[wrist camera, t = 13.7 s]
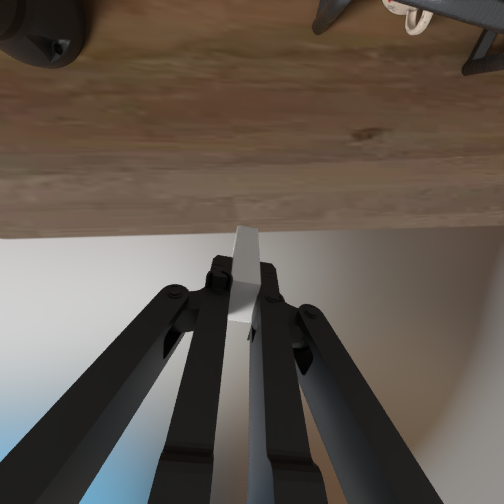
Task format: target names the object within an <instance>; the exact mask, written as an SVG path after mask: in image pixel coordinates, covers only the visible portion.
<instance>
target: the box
mask: <svg viewBox="0 0 504 504" xmlns="http://www.w3.org/2000/svg"><path fill="white" fill-rule="evenodd" d="M351 1H352V0H320V3H319V7H318V11H317V15H316V19H315V20H314V22H313V25H312V30H313V32H314V33H315V34H316V35H320V34H322V33H323V32H324V31H325V30H326V29H327V27H328V26H329V25H330V24H331V23H332V22H333V21H334V20H335V19H336V17H337V16H338V15H339V14H340V13H341V12H342V11H343V10H344V9H345V8H346V6H347V5H348V4H349V3H350V2H351ZM391 1H394V2H398V3H401V4H404V5H408V6H411V7H414V8H418V9H421V10H424V11H428V12H431V13H434V14H438V15H441V16H444V17H447V18H451V19H454V20H457V21H461V22H464V23H467V24H471V25H474V26H477V27H481V28H484V30H483V32H482V34H481V36H480V38H479V39H478V41H477V43H476V45H475V47H474V49H473V51H472V53H471V55H470V57H469V59H468V61H467V62H466V63H465V64H464V65H463V67H462V74H463V75H464V76H468V75H474V74H480V73H486V72H492V71H498V70H504V53H499V54H495V55H491V56H486V57H484V56H485V54H486V52H487V50H488V48H489V47H490V45H491V43H492V41H493V39H494V37H495V35H496V34H497V33H501V34H504V0H391Z"/></svg>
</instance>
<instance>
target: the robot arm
mask: <svg viewBox="0 0 504 504" xmlns="http://www.w3.org/2000/svg"><path fill="white" fill-rule="evenodd" d="M84 36H85V16H84V9H83V5H82V1H81V0H0V50H2V51H3V52H5V53H6V54H8V55H9V56H11V57H13V58H15V59H17V60H19V61H21V62H23V63H26V64H29V65H32V66H37V67H42V68H48V69H54V68H60V67H63V66H66V65H67V64H69V63H70V62H72V61H73V60H74V59H75V58H76V56H77V55H78V53H79V52H80V50H81V47H82V45H83V41H84ZM251 318H252V325H251V328H250V332H249V335H248V339H247V340H249V339H250V371H249V373H250V374H249V378H250V380H249V472H248V496H247V502H246V504H328V501H327V497H326V491H325V485H324V481H323V477H322V474H321V471H320V469H319V467H318V466H317V465H316V464H315V463H314V462H313V460H312V458H311V454H310V448H309V442H308V436H307V430H306V424H305V418H304V413H303V407H302V401H301V395H300V390H299V383H300V386H301V388H302V391H303V393H304V396H305V398H306V401H307V403H308V406H309V408H310V410H311V413H312V415H313V418H314V421H315V423H316V426H317V428H318V431H319V433H320V435H321V438H322V441H323V443H324V445H325V448H326V451H327V453H328V456H329V458H330V460H331V463H332V465H333V468H334V470H335V473H336V475H337V478H338V480H339V483H340V485H341V488H342V490H343V493H344V495H345V498H346V500H347V502H348V504H444V503H443V502H442V500H441V499H440V497H439V496H438V494H437V492H436V491H435V489H434V488H433V486H432V484H431V483H430V481H429V480H428V478H427V477H426V475H425V474H424V472H423V470H422V469H421V467H420V466H419V464H418V462H417V461H416V459H415V458H414V456H413V455H412V453H411V451H410V450H409V448H408V447H407V445H406V443H405V442H404V441H403V439H402V437H401V436H400V434H399V432H398V431H397V430H396V428H395V426H394V425H393V423H392V421H391V420H390V418H389V417H388V415H387V414H386V412H385V410H384V409H383V407H382V406H381V404H380V403H379V401H378V400H377V398H376V396H375V395H374V394H373V392H372V390H371V388H370V387H369V385H368V384H367V382H366V380H365V379H364V377H363V376H362V374H361V373H360V371H359V369H358V368H357V366H356V365H355V363H354V362H353V360H352V359H351V357H350V355H349V354H348V352H347V351H346V349H345V348H344V346H343V344H342V343H341V341H340V340H339V338H338V336H337V335H336V333H335V332H334V330H333V329H332V327H331V325H330V324H329V322H328V321H327V319H326V317H325V316H324V314H323V313H322V312H321V311H320V309H318V308H317V307H315V306H313V305H310V304H303V305H301V306H300V307H299V308H296V307H294V306H291V305H289V304H287V303H286V302H285V300H284V298H283V296H282V295H281V294H280V293H279V286H278V280H277V273H276V268H275V267H274V266H273V265H272V264H271V263H265V262H260V258H259V240H258V229H257V228H251V227H246V226H241V225H238V226H237V231H236V236H235V242H234V247H233V252H232V257H227V256H221V255H217V256H216V257H215V258H213V262H212V266H211V270H210V271H209V272H208V273H207V276H206V283H205V287H204V288H202V289H201V290H197V291H188V289H187V288H186V287H184V286H182V285H178V284H172V285H168V286H166V287H164V288H163V289H162V290H161V291H160V292H159V293H158V294H157V295H156V296H155V297H154V298H153V299H152V300H151V301H150V303H149V304H148V305H147V306H146V307H145V308H144V309H143V310H142V311H141V312H140V313H139V314H138V315H137V316H136V318H135V319H134V320H133V321H132V322H131V323H130V324H129V325H128V326H127V327H126V328H125V329H124V330H123V331H122V332H121V334H120V335H119V336H118V337H117V338H116V339H115V340H114V341H113V342H112V343H111V344H110V345H109V346H108V347H107V349H106V350H105V351H104V352H103V353H102V354H101V355H100V356H99V357H98V358H97V359H96V360H95V361H94V363H93V364H92V365H91V366H90V367H89V368H88V369H87V370H86V371H85V372H84V373H83V374H82V375H81V376H80V378H79V379H78V380H77V381H76V382H75V383H74V384H73V385H72V386H71V387H70V388H69V389H68V390H67V391H66V393H65V394H64V395H63V396H62V397H61V398H60V399H59V400H58V401H57V402H56V403H55V404H54V405H53V406H52V407H51V409H50V410H49V411H48V412H47V413H46V414H45V415H44V416H43V417H42V418H41V419H40V420H39V421H38V423H37V424H36V425H35V426H34V427H33V428H32V429H31V430H30V431H29V432H28V433H27V434H26V435H25V436H24V437H23V438H22V440H21V441H20V442H19V443H18V444H17V445H16V446H15V447H14V448H13V449H12V450H11V451H10V452H9V453H8V455H7V456H6V457H5V458H4V459H3V460H2V461H1V462H0V504H79V502H80V501H81V499H82V497H83V496H84V494H85V493H86V491H87V489H88V488H89V486H90V485H91V483H92V481H93V480H94V478H95V477H96V475H97V473H98V472H99V470H100V468H101V467H102V465H103V464H104V462H105V461H106V459H107V457H108V456H109V454H110V453H111V451H112V449H113V448H114V446H115V445H116V443H117V442H118V440H119V438H120V437H121V435H122V434H123V432H124V430H125V429H126V427H127V426H128V424H129V422H130V421H131V419H132V418H133V416H134V414H135V413H136V411H137V409H138V408H139V406H140V405H141V403H142V402H143V399H144V398H145V397H146V395H147V394H148V392H149V390H150V389H151V387H152V386H153V384H154V382H155V381H156V379H157V378H158V376H159V374H160V373H161V371H162V369H163V368H164V366H165V365H166V363H167V362H168V360H169V358H170V357H171V355H172V354H173V352H174V350H175V349H176V347H177V346H178V344H179V342H180V341H181V339H182V338H183V336H184V334H185V332H190V331H194V332H193V337H192V340H191V344H190V349H189V352H188V356H187V360H186V364H185V368H184V372H183V376H182V379H181V383H180V387H179V391H178V395H177V399H176V403H175V407H174V411H173V415H172V419H171V423H170V426H169V431H168V434H167V439H166V442H165V446H164V449H163V451H162V453H161V456H160V459H159V462H158V466H157V469H156V473H155V477H154V481H153V484H152V488H151V492H150V496H149V500H148V504H209V503H210V493H211V483H212V473H213V461H214V455H213V450H214V440H215V431H216V421H217V412H218V402H219V393H220V385H221V384H220V383H221V375H222V366H223V357H224V347H225V339H226V329H227V320H232V321H240V322H246V323H250V322H251ZM298 381H299V383H298Z"/></svg>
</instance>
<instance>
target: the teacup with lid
mask: <svg viewBox="0 0 504 504" xmlns="http://www.w3.org/2000/svg"><path fill="white" fill-rule="evenodd" d="M382 1H383V3H384V5H385V6H386V8H387V9H388V10H389V11H391V12H392V13H394V14H398V15H406V14H407V15H406V31H407V33H408V34H410V35H418V34H420V33H422V32H423V31H424V30H425V28H426V27H427V26H428V24H429V22H430V20H431V18H432V15H433V13H431V12H428V11H424V10H423V13H422V16H421V19H420V21H419V23H418V25H417V26H416V14H417V10H418V8H414V7H411V6H408V5H404V4H401V3H398V2H394V1H391V0H382Z"/></svg>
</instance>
